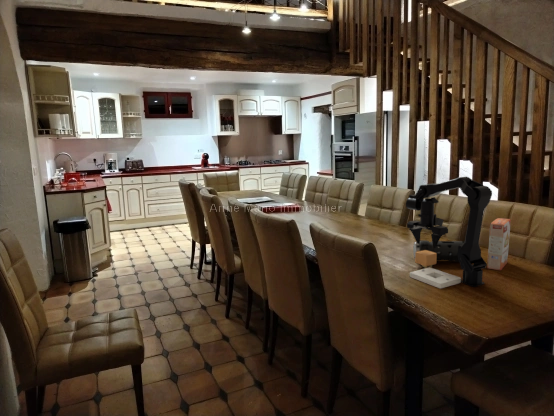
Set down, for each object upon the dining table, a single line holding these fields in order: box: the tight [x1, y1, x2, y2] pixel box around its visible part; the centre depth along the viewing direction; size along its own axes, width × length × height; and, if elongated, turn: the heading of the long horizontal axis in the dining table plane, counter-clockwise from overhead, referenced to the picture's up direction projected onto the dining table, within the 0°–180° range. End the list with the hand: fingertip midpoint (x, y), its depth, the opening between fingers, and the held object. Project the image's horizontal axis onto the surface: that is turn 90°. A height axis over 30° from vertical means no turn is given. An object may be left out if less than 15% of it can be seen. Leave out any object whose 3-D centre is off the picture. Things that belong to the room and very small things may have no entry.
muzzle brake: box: [412, 239, 481, 263], centre depth 184 cm, size 10×28×10 cm, turn 80°
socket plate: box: [409, 266, 462, 289], centre depth 162 cm, size 16×12×2 cm
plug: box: [414, 250, 438, 269], centre depth 177 cm, size 6×6×7 cm
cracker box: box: [486, 217, 512, 271], centre depth 174 cm, size 14×6×21 cm, turn 139°
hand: (426, 245), depth 176 cm, fingers open, 9 cm apart
